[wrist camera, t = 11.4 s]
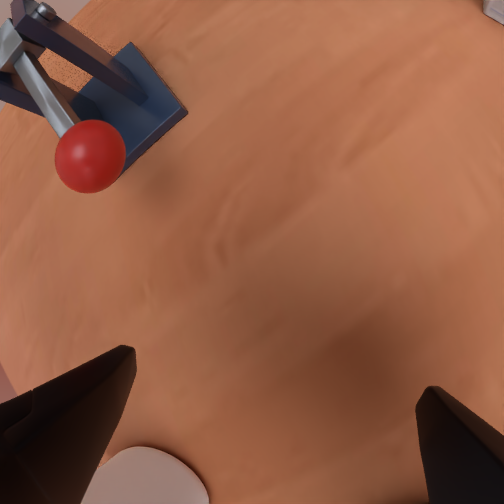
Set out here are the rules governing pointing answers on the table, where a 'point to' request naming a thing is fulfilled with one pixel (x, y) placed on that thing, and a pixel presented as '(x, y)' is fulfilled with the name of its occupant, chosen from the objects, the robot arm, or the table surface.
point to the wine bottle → (145, 480)
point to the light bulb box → (494, 9)
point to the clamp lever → (64, 119)
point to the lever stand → (98, 81)
